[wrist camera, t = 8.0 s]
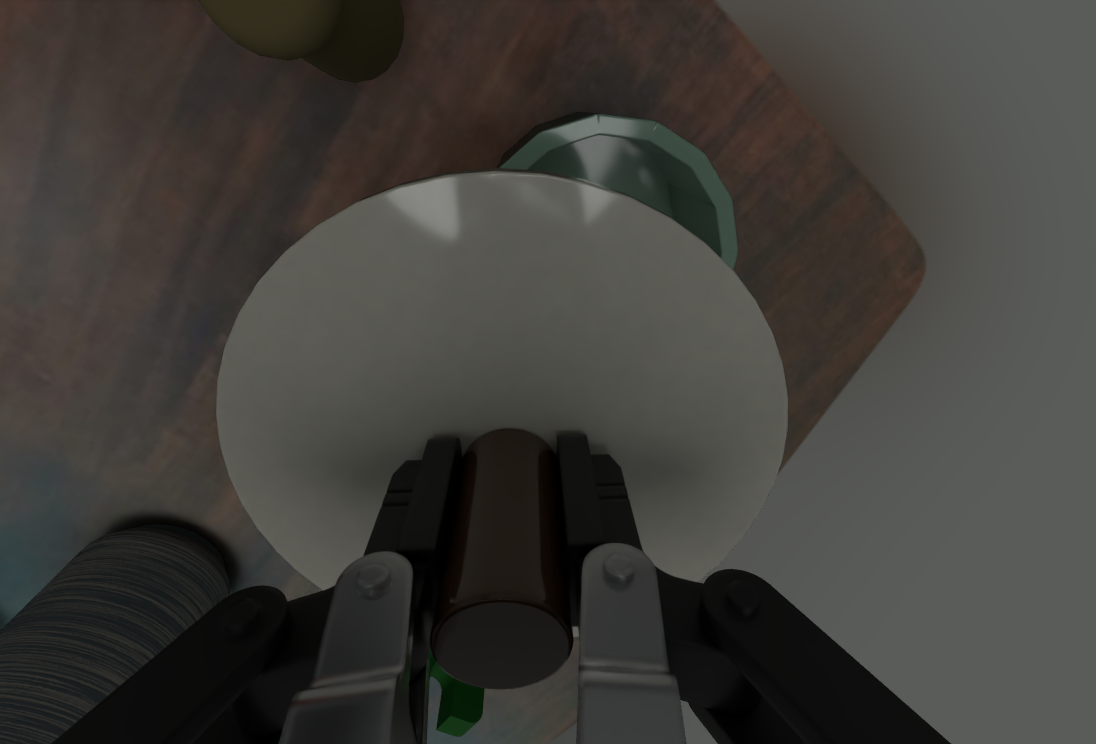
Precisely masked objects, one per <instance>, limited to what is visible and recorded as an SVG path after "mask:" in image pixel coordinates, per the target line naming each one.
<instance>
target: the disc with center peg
mask: <svg viewBox="0 0 1096 744" xmlns="http://www.w3.org/2000/svg"><path fill="white" fill-rule="evenodd" d="M216 417H217V425H218V433H219V441H220V447H221V451H222V454H223V458H224V461H225V464H226V468H227V471H228V475H229V477H230V480H231V482H232V484H233V486H234V488H235V490H236V493H237V495H238V497H239V499H240V501H241V503H242V505H243V507H244V508H245V510H246V511H247V513H248V514H249V516H250V518H251V519H252V521H253V522H254V524H255V525H256V527H257V529H258V530H259V531H260V532H261V534H262V535H263V536H264V537H265V538H266V540H267V541H268V542H269V543H270V544H271V545H272V547H273V548H274V549H275V550H276V551H277V553H278V554H279V555H281V556H282V557H283V558H284V559H285V560H286V561H287V562H288V563H289V564H290V565H291V566H292V567H293V568H294V569H295V570H297V571H298V572H299V573H300V574H301V575H302V576H304V577H305V578H306V579H308V580H309V581H310V582H312V583H313V584H314V585H316V586H317V587H318V588H320V589H321V590H326V589H328V588H330V587H332V586H334V585H336V582H337V579H338V578H339V576H340V574H341V573H342V572H343V571H344V569H345V568H346V567H347V566H349V565H350V564H351V563H352V562H354V561H355V560H357V559H359V558H361V557H363V555H364V552H365V549H366V547H367V544H368V541H369V538H370V536H371V533H372V530H373V527H374V524H375V522H376V519H377V516H378V513H379V511H380V508H381V507H382V502H383V499H384V497H385V494H387V488H388V486H389V483H390V480H391V477H392V475H393V473H394V472H395V471H396V470H397V469H398V468H399V467H400V466H401V465H402V464H403V463H404V462H405V461H406V460H422V458H423V454H424V451H425V447H426V444H427V441H428V439H441V438H459V439H460V443H461V451H462V462H461V468H460V473H459V479H458V484H457V490H456V495H455V501H454V506H453V512H452V517H451V523H450V528H449V534H448V539H447V545H446V550H445V556H444V562H443V567H442V573H441V578H440V583H439V588H438V594H437V599H436V605H435V610H434V616H433V621H432V627H431V632H430V639H429V641H430V648H431V652H432V655H433V658H434V660H435V661H436V663H437V664H438V665H439V667H440V668H441V669H442V670H443V671H444V672H446V673H447V674H448V675H450V676H451V677H453V678H455V679H456V680H459V681H461V682H463V683H466V684H469V685H472V686H476V687H480V688H487V689H514V688H520V687H525V686H529V685H532V684H535V683H538V682H540V681H542V680H545V679H547V678H548V677H550V676H552V675H553V674H554V673H556V672H557V671H558V670H559V669H560V668H561V667H562V666H563V665H564V664H565V663H566V661H567V659H568V658H569V656H570V653H571V650H572V647H573V638H574V637H579V632H578V627H572V617H571V605H570V594H569V584H568V580H567V568H566V557H565V545H564V534H563V522H562V511H561V499H560V488H559V476H558V465H557V435H578V434H586V435H587V439H588V444H589V450H590V455H595V454H609V455H610V456H611V457H612V458H613V459H614V460H615V461H616V462H617V464H618V465H619V466H620V467H621V470H622V474H623V477H624V481H625V486H626V489H627V493H628V499H629V500H630V504H631V508H632V512H633V516H634V519H635V523H636V527H637V531H638V535H639V538H640V542H641V546H642V549H643V551H644V553H645V554H646V555H647V556H648V557H649V558H650V559H651V561H652V562H653V564H654V565H655V566H656V567H657V568H659V569H660V570H662V571H664V572H665V573H667V574H670V575H672V576H675V577H678V578H682V579H686V580H690V581H694V582H699V581H700V580H701V579H703V578H704V577H705V576H706V575H707V574H709V573H710V572H711V571H712V570H713V569H714V568H715V567H716V566H717V565H718V564H719V563H721V562H722V561H723V560H724V559H725V558H726V557H727V556H728V555H729V553H730V552H731V551H732V550H733V549H734V547H736V545H737V544H738V543H739V542H740V541H741V540H742V538H743V537H744V536H745V535H746V533H747V532H748V530H749V528H750V527H751V526H752V524H753V523H754V521H755V520H756V518H757V517H758V515H759V514H760V512H761V510H762V508H763V506H764V504H765V502H766V500H767V498H768V496H769V494H770V492H771V490H772V488H773V485H774V482H775V479H776V476H777V473H778V470H779V467H780V464H781V461H782V458H783V452H784V446H785V440H786V434H787V424H788V395H787V388H786V382H785V375H784V369H783V363H782V360H781V357H780V354H779V351H778V348H777V345H776V342H775V339H774V336H773V333H772V331H771V329H770V327H769V325H768V323H767V321H766V319H765V317H764V315H763V313H762V311H761V309H760V307H759V305H758V304H757V302H756V300H755V299H754V297H753V296H752V295H751V293H750V292H749V291H748V289H747V288H746V287H745V285H744V284H743V282H742V281H741V280H740V278H739V277H738V276H737V274H736V273H735V272H734V270H733V269H732V268H731V267H730V266H729V265H727V264H726V263H725V262H724V261H723V260H722V259H721V258H720V257H719V256H718V255H717V254H716V253H715V252H714V251H713V250H712V249H711V248H710V247H709V246H708V245H707V244H706V243H705V242H704V241H702V240H701V239H700V238H699V237H697V236H696V235H694V234H693V233H692V232H690V231H689V230H687V229H686V228H685V227H683V226H682V225H681V224H679V223H678V222H676V221H675V220H674V219H672V218H671V217H669V216H668V215H667V214H665V213H663V212H662V211H660V210H658V209H656V208H654V207H652V206H650V205H648V204H646V203H644V202H642V201H640V200H638V199H636V198H634V197H633V196H631V195H629V194H627V193H624V192H621V191H618V190H615V189H612V188H609V187H606V186H604V185H601V184H598V183H595V182H592V181H589V180H586V179H582V178H577V177H572V176H567V175H562V174H556V173H551V172H546V171H541V170H524V169H505V168H488V169H477V170H465V171H453V172H446V173H442V174H438V175H433V176H429V177H425V178H420V179H416V180H412V181H407V182H404V183H401V184H399V185H396V186H394V187H391V188H388V189H386V190H383V191H381V192H378V193H376V194H373V195H371V196H368V197H365V198H363V199H361V200H360V201H358V202H356V203H354V204H353V205H351V206H349V207H347V208H346V209H344V210H342V211H341V212H339V213H337V214H335V215H334V216H332V217H330V218H328V219H327V220H325V221H323V222H321V223H320V224H318V225H317V226H316V227H314V228H313V229H312V230H311V231H309V232H308V233H307V234H306V235H304V236H303V237H302V238H301V239H299V240H298V241H297V242H296V243H294V244H293V245H292V246H291V247H290V248H288V249H287V250H286V251H285V252H284V253H283V254H282V255H281V256H280V257H279V259H278V260H277V261H276V262H275V263H274V264H273V265H272V266H271V267H270V269H269V270H268V271H267V272H266V273H265V274H264V275H263V276H262V278H261V279H260V280H259V281H258V283H257V284H256V286H255V287H254V289H253V291H252V292H251V294H250V295H249V297H248V299H247V300H246V302H245V303H244V305H243V307H242V308H241V310H240V311H239V313H238V315H237V318H236V320H235V323H234V325H233V328H232V330H231V333H230V335H229V337H228V340H227V342H226V345H225V348H224V353H223V357H222V362H221V367H220V371H219V376H218V381H217V404H216Z"/></svg>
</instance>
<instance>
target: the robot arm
mask: <svg viewBox="0 0 1096 744" xmlns="http://www.w3.org/2000/svg"><path fill="white" fill-rule="evenodd" d="M461 462H462V451H461V443H460V439H459V438H441V439H428V441H427V444H426V447H425V451H424V454H423V458H422V460H406V461H405V462H404V463H403V464H402V465H401V466H400V467H399V468H398V469H397V470H396V471H395V472H394V473H393V475H392V477H391V480H390V483H389V486H388V488H387V494H385V497H384V499H383V502H382V507H381V508H380V511H379V513H378V516H377V519H376V522H375V524H374V527H373V530H372V533H371V536H370V538H369V541H368V544H367V547H366V549H365V552H364V555H363V557H361V558H359V559H357V560H355V561H354V562H352V563H351V564H350V565H349V566H347V567H346V568H345V569H344V571H343V572H342V573H341V574H340V576H339V578H338V579H337V582H336V585H334V586H332V587H330V588H328V589H326V590H323V591H320V592H317V593H314V594H311V595H307V596H304V597H301V598H298V599H294V600H291V601H288V602H287V600H286V597H285V595H284V594H283V593H282V592H281V591H280V590H279V589H277V588H274V587H271V586H254V587H250V588H246V589H243V590H240V591H238V592H236V593H233V594H231V595H230V596H228V597H226V598H225V599H223V600H222V601H220V602H219V603H218V604H216V605H215V606H214V607H213V608H212V609H210V610H209V611H208V612H207V613H206V614H204V615H203V616H202V617H201V618H200V619H199V620H197V621H196V622H195V623H194V624H193V625H191V626H190V627H189V628H188V629H187V630H185V631H184V632H183V633H182V634H181V635H180V636H178V637H177V638H176V639H175V640H174V641H172V642H171V643H170V644H169V645H168V646H166V647H165V648H164V649H163V650H162V651H161V652H159V653H158V654H157V655H156V656H155V657H153V658H152V659H151V660H150V661H149V662H147V663H146V664H145V665H144V666H143V667H141V668H140V669H139V670H138V671H137V672H136V673H134V674H133V675H132V676H131V677H130V678H128V679H127V680H126V681H125V682H124V683H122V684H121V685H120V686H119V687H118V688H117V689H115V690H114V691H113V692H112V693H111V694H109V695H108V696H107V697H106V698H105V699H103V700H102V701H101V702H100V703H99V704H98V705H96V706H95V707H94V708H93V709H92V710H90V711H89V712H88V713H87V714H86V715H84V716H83V717H82V718H81V719H80V720H79V721H77V722H76V723H75V724H74V725H73V726H71V727H70V728H69V729H68V730H67V731H65V732H64V733H63V734H62V735H61V736H60V737H58V738H57V739H56V740H55V741H54V742H52V743H51V744H427V725H428V702H429V679H430V661H429V654H430V649H431V648H430V641H429V639H430V632H431V627H432V621H433V616H434V610H435V605H436V599H437V594H438V588H439V583H440V578H441V573H442V567H443V562H444V556H445V550H446V545H447V539H448V534H449V528H450V523H451V517H452V512H453V506H454V501H455V495H456V490H457V484H458V479H459V473H460V468H461ZM557 465H558V476H559V488H560V499H561V511H562V522H563V534H564V545H565V557H566V568H567V580H568V584H569V594H570V605H571V617H572V627H578V632H579V642H580V647H579V676H578V707H577V739H576V744H686V737H685V731H684V723H683V716H682V710H681V702H680V700H683V701H686V702H688V703H689V706H690V707H691V709H692V710H693V712H694V713H695V715H696V716H697V717H698V719H699V720H700V721H701V722H702V724H703V725H704V726H705V728H706V729H707V730H708V732H709V733H710V734H711V735H712V737H713V738H714V739H715V741H716V742H717V743H718V744H951V743H950V742H948V741H947V740H946V739H945V738H944V737H943V736H942V735H940V734H939V733H938V732H937V731H936V730H935V729H934V728H932V727H931V726H930V725H929V724H928V723H927V722H926V721H925V720H923V719H922V718H921V717H920V716H919V715H918V714H917V713H915V712H914V711H913V710H912V709H911V708H910V707H909V706H908V705H906V704H905V703H904V702H903V701H902V700H901V699H899V698H898V697H897V696H896V695H895V694H894V693H893V692H892V691H890V690H889V689H888V688H887V687H886V686H885V685H884V684H882V683H881V682H880V681H879V680H878V679H877V678H875V677H874V676H873V675H872V674H871V673H870V672H869V671H868V670H867V669H865V668H864V667H863V666H862V665H861V664H860V663H859V662H857V661H856V660H855V659H854V658H853V657H852V656H851V655H850V654H848V653H847V652H846V651H845V650H844V649H843V648H842V647H840V646H839V645H838V644H837V643H836V642H835V641H834V640H832V639H831V638H830V637H829V636H828V635H827V634H826V633H824V632H823V631H822V630H821V629H820V628H819V627H818V626H816V625H815V624H814V623H813V622H812V621H811V620H810V619H809V618H807V617H806V616H805V615H804V614H803V613H802V612H801V611H799V610H798V609H797V608H796V607H795V606H794V605H792V604H791V603H790V602H789V601H788V600H787V599H786V598H785V597H784V596H782V595H781V594H780V593H779V592H778V591H777V590H776V589H774V588H773V587H772V586H771V585H770V584H769V583H767V582H766V581H765V580H763V579H762V578H760V577H758V576H756V575H754V574H752V573H749V572H746V571H742V570H736V569H735V570H734V569H726V570H721V571H717V572H715V573H713V574H712V575H710V576H709V577H708V578H707V579H706V581H705V582H704V584H703V583H698V582H694V581H690V580H686V579H682V578H678V577H675V576H672V575H670V574H667V573H665V572H664V571H662V570H660V569H659V568H657V567H656V566H655V565H654V564H653V562H652V561H651V559H650V558H649V557H648V556H647V555H646V554H645V553H644V551H643V549H642V546H641V542H640V538H639V535H638V531H637V527H636V523H635V519H634V516H633V512H632V508H631V504H630V500H629V499H628V493H627V489H626V486H625V481H624V477H623V474H622V470H621V467H620V466H619V465H618V464H617V462H616V461H615V460H614V459H613V458H612V457H611V456H610V455H609V454H595V455H590V450H589V444H588V439H587V435H586V434H578V435H557Z"/></svg>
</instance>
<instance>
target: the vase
mask: <svg viewBox="0 0 1096 744" xmlns="http://www.w3.org/2000/svg"><path fill="white" fill-rule="evenodd" d="M229 592H230V591H229V580H228V577H227V574H226V571H225V564H224V561H223V558H222V556H221V555H220V553H219V551H218V550H217V549H216V548H215V547H214V546H213V545H212V544H211V543H210V542H209V541H207V540H206V539H204V538H203V537H201V536H200V535H198V534H196V533H194V532H192V531H190V530H187V529H184V528H181V527H177V526H173V525H165V524H150V525H143V526H139V527H136V528H131V529H124V530H120V531H117V532H113V533H110V534H107V535H105V536H103V537H101V538H99V539H97V540H95V541H93V542H91V543H90V544H88V545H87V546H86V547H85V548H84V549H82V550H81V551H80V552H79V553H78V554H77V555H76V556H75V557H74V558H73V559H72V560H71V561H70V562H69V563H68V564H67V565H66V566H65V567H64V568H63V569H62V570H61V571H60V572H59V573H58V574H57V575H56V576H55V577H54V578H53V579H52V580H51V581H50V582H49V583H48V584H47V585H46V586H45V587H44V588H43V589H42V590H41V591H40V592H39V593H38V594H37V595H36V596H35V597H34V598H33V599H32V600H31V601H30V602H29V603H28V604H27V605H26V606H25V607H24V608H23V609H22V610H21V611H20V612H19V613H18V614H17V615H16V616H15V617H14V618H13V619H12V620H11V621H10V622H9V623H8V624H7V625H6V626H5V627H4V628H3V629H2V630H1V631H0V744H51V743H52V742H54V741H55V740H56V739H57V738H58V737H60V736H61V735H62V734H63V733H64V732H65V731H67V730H68V729H69V728H70V727H71V726H73V725H74V724H75V723H76V722H77V721H79V720H80V719H81V718H82V717H83V716H84V715H86V714H87V713H88V712H89V711H90V710H92V709H93V708H94V707H95V706H96V705H98V704H99V703H100V702H101V701H102V700H103V699H105V698H106V697H107V696H108V695H109V694H111V693H112V692H113V691H114V690H115V689H117V688H118V687H119V686H120V685H121V684H122V683H124V682H125V681H126V680H127V679H128V678H130V677H131V676H132V675H133V674H134V673H136V672H137V671H138V670H139V669H140V668H141V667H143V666H144V665H145V664H146V663H147V662H149V661H150V660H151V659H152V658H153V657H155V656H156V655H157V654H158V653H159V652H161V651H162V650H163V649H164V648H165V647H166V646H168V645H169V644H170V643H171V642H172V641H174V640H175V639H176V638H177V637H178V636H180V635H181V634H182V633H183V632H184V631H185V630H187V629H188V628H189V627H190V626H191V625H193V624H194V623H195V622H196V621H197V620H199V619H200V618H201V617H202V616H203V615H204V614H206V613H207V612H208V611H209V610H210V609H212V608H213V607H214V606H215V605H216V604H218V603H219V602H220V601H222V600H223V599H225V598H226V597H228V596H229Z"/></svg>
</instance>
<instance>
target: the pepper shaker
mask: <svg viewBox="0 0 1096 744" xmlns="http://www.w3.org/2000/svg"><path fill="white" fill-rule="evenodd" d="M199 2H200V3H201V5H202V6H203V8H204V9H205V11H206V12H207V14H208V15H209V17H210V18H211V20H212V21H213V22H214V23H215V24H216V25H217V26H218V27H220V28H221V29H222V30H223V31H224V32H225V33H226V34H227V35H228V36H229V37H230V38H231V39H233V40H234V41H235V42H236V43H237V44H239V45H241V46H243V47H245V48H247V49H248V50H250V51H252V52H254V53H256V54H258V55H260V56H265V57H271V58H276V59H282V60H293V59H299V58H302V59H304V60H306V61H307V62H309V63H310V64H312V65H314V66H315V67H317V68H318V69H320V70H322V71H324V72H326V73H327V74H329V75H331V76H333V77H335V78H337V79H340V80H345V81H351V82H361V81H366V80H372V79H374V78H375V77H377V76H379V75H380V74H382V73H383V72H385V71H387V69H388V68H389V67H390V65H391V64H392V63H393V61H394V60H395V59H396V57H397V55H398V52H399V49H400V46H401V43H402V40H403V24H404V17H403V13H402V8H401V4H400V0H199Z"/></svg>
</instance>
